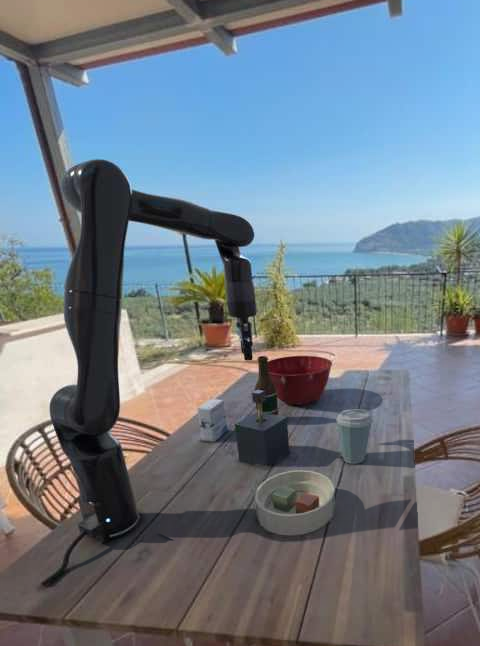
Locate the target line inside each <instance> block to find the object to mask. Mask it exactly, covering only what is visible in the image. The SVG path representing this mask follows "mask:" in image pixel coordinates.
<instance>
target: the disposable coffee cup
mask: <svg viewBox="0 0 480 646" xmlns="http://www.w3.org/2000/svg"><path fill="white" fill-rule="evenodd" d="M373 422H374V420H373V415H372V413H371V411H368V410H367V409H363V408H362V409H361V408H350V409H346V410H342V411H341V412H339V413H338V414H337V417H336V424H337V429H338V436H339V443H340V449H341V453H342V454H341V455H342V459H343V461H344V462H346V463H348V464H351V465H352V464H353V465H355V464H360V463H362V462H364V461H365V458H366V455H367V449H368V444H369V438H370V433H371V428H372V424H373Z"/></svg>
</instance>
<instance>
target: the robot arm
mask: <svg viewBox="0 0 480 646" xmlns="http://www.w3.org/2000/svg"><path fill="white" fill-rule="evenodd" d="M60 188H61V189H60V190H61V193H62V194H63V197H64V198H65V201H66V202H67V203H68V204H69V206H70V207H72V208H73V209H74V210H75V211H76V212H78V213H80V214H81V215H80V216H81V217H80V218H81V219H80V220H81V221H80V222H81V224H80V225H81V226H80V235H79V239H78V243H77V245H76V248H75V251H74V254H73V256H72V259H71V260H70V264H69V266H68V269H67V273H66V277H65V281H64V289H63V290H64V291H63V307H62V308H63V320H64V324H65V329H66V331H67V334H68V337H69V340H70V343H71V345H72V348H73V351H74V354H75V357H76V362H77V379H76V384H68V385H65V386H63V387H61V388H59V389H58V390H57V391H56V392H55V393H54V394H53V395H52V397H51V398H50V402H49V407H48V409H49V416H50V420H51V423H52V427H53V430H54V432H55V435H56V438H57V440H58V443H59V446H60V448H61V450H62V452H63V453H64V455H65V456H66V457H67V459H68V460H69V462H70V466H71V468H72V471H73V474H74V478H75V481H76V485H77V488H78V491H79V496H77V498H76V500H77V504H78V507H79V509H80V513H81V517H82V521H80V522H78V523H77V527H78V531H79V532H80V533H79V535H78V536H76V538H75V539H74V540H73V541H72V542H71V543H70V545H69V546H68V547H67V549H66V551H65V553H64V555H63V560H62V563H61V565H60V567H59V568H58V569H57V570H56V571H55V572H53V574H51V575H50V576H48V577H47V578H45V579H44V580H42V581H41V582H40V583H41V586H43V587H46V586H47V585H49V583H51V582H53V581H54V580H55V579H57V578H59V576H60V575H62V574H63V572H64V571H65V570H66V569H67V567H68V564H69V562H70V561H69V560H70V557H71V554H72V552H73V551H74V549H75V548H76V546H77V545H78V544H79V543H80V541H81V540H82V539H83V538H84V537H86V536H87V537H89V538H91V539H93V540H94V539H96V540H97V539H98V540H99V541H102V542H104V543H105V542H107V541H109V540H111V539H115V538H119V537H122V536H123V535H126V534H128V533H130V532H131V531H132V530H134V529H135V528H137V526H138V524H139V523H140V519H141V517H140V513H139V511H138V508H137V503H136V499H135V496H134V492H133V491H134V490H133V487H132V483H131V479H130V475H129V471H128V468H127V463H126V459H125V454H124V451H123V447H122V444H121V442H120V441H119V439H117V438H116V437H115V436H114V435H113V434H112V433H111V430H112V429H113V428H114V427H115V425H116V424H117V422H118V420H119V418H120V413H121V394H120V379H119V378H120V377H119V354H120V331H121V322H122V307H123V284H124V283H123V282H124V281H123V280H124V269H125V267H124V266H125V263H124V262H125V247H126V240H127V239H126V238H127V233H128V229H129V222H133V223H138V224H139V223H140V224H144V225H149V226H153V227H157V228H162V229H164V230H169V231H173V232H176V233H179V234H183V235H187V236H191V237H195V238H198V239H203V240H208V241H209V240H211V241H212V240H214V242H215V246H216V249H217V251H218V254H219V257H220V260H221V261H222V264H223V273H224V282H225V287H224V288H225V289H224V290H225V297H226V307H227V314H228V315H227V316H228V317H230V318H234V319H235V318H236V321H237V322H235V327H236V328H235V329H236V331H237V332H236V333H237V336H238V339H239V341H240V351H241V353H242V354H243V358H244V361H252V360H253V358H254V357H253V348H252V347H253V345H254V342H253V331H252V329H253V325H252V322H251V321H249V318H252V317H256V316H257V302H256V293H255V286H254V282H253V281H254V280H253V271H252V270H253V269H252V263H251V260H250V259H249V258H247V257H245V256H243V255H242V252H241V249H240V248H245V247H248V246H249V245H251V244H252V243H253V241H254V239H255V235H256V234H255V229H254V226H253V224H252V223H251V222H250V221H249V220H248V219H246V217H243V216H241V215H238V214H233V213H229V212H223V211H217V210H213V209H210V208H208V207H206V206H202V205H199V204H197V203H194V202H191V201H188V200H185V199H180V198H175V197H168V196H162V195H156V194H151V193H146V192H143V191H138V190H135V189H133V188H132V185H131V183H130V180H129V178H128V177H127V175H126V174H125V172H124V171H123V170H122V169H121V168H120V167H119V166H118V165H116V164H115V163H114V162H112V161H110V160H107V159H100V158H98V159H97V158H95V159H90V160H86V161H84V162H83V161H82V162H81V163H78V164H76V165H73V166H72V167H71V166H70V167H69V169H68V170H66V171H65V172H64V173H63V175H62V177H61V180H60Z"/></svg>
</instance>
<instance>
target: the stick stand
mask: <svg viewBox="0 0 480 646" xmlns="http://www.w3.org/2000/svg"><path fill="white" fill-rule="evenodd" d="M234 432H235V438H236V447H237V454H238V461H239V462H241V463H246V464H249V465H255V464H256V465H260V466H263V467H266V468H267V467H269V466H270V465H272V464H273V463H274V462H276V461H278V460H279V459H280V458H282V457H283V456H284V457H285V456H288V454H290V442H289V427H288V417H287V416H282V415H279V414H278V415H274V414H269V413H264V412H263V423H259V415H258V412H257V411H256V412H254V413H253V414H251V415H249V416H247V417H245V418H243V419H241V420H239V421H238V422H236V423H234Z"/></svg>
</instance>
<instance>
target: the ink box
mask: <svg viewBox="0 0 480 646" xmlns="http://www.w3.org/2000/svg"><path fill="white" fill-rule="evenodd" d="M225 407H226V406H225V400H224V399H215V398H210V399H209V400H208V401H205V403H203V404H201V405H200V406H198V407H197V415H198V422H199V431H200V437H201V441H204V442H213V443H215V442H216V441H217V440H219V439H220V438H221V437H222V436H223V435H225V434H226V433H227V432H228V424H227V417H226V409H225Z"/></svg>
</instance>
